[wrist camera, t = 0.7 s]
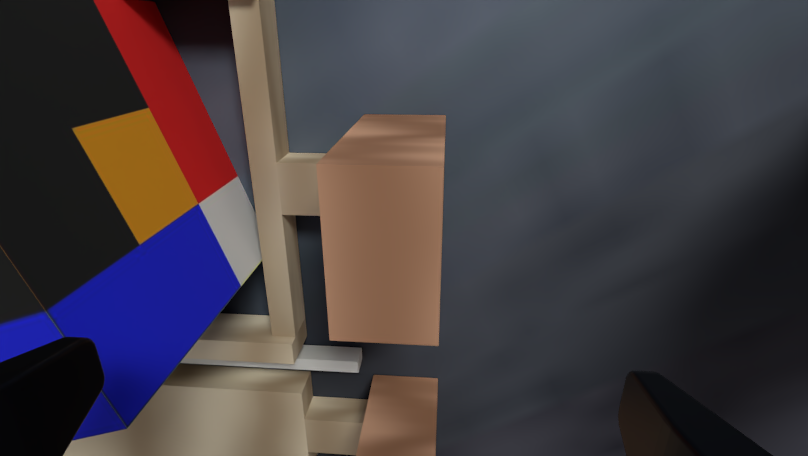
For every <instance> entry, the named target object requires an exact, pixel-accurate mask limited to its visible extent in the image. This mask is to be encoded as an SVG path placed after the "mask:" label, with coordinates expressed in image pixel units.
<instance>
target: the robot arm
mask: <svg viewBox="0 0 808 456" xmlns="http://www.w3.org/2000/svg"><path fill="white" fill-rule="evenodd" d="M104 381H105V375H104V371H103V368H102V365H101V361H100V358H99V355H98V351H97V348H96V345H95V343H94V342H93V341H92V340H91V339H89V338H85V337H64V338H61V339H58V340H56V341H53V342H51V343H48V344H45V345H43V346H40V347H38V348H35V349H33V350H30V351H28V352H25V353H23V354H20V355H18V356H15V357H13V358H10V359H8V360H5V361H3V362H0V456H63V455H64V453H65V451H66V450H67V448H68V446H69V445H70V443H71V441H72V440H73V438H74V436H75V435H76V433H77V431H78V430H79V428H80V426H81V425H82V423H83V421H84V420H85V418H86V416H87V414H88V413H89V411H90V409H91V408H92V406H93V404H94V403H95V401H96V399H97V398H98V396H99V394H100V393H101V391H102V389H103V386H104ZM618 420H619V427H620V431H621V435H622V439H623V443H624V447H625V451H626V456H773V455H771V454H770V453H768V452H767V451H766V450H764V449H763V448H762V447H760V446H759V445H757V444H756V443H755V442H753V441H752V440H751V439H749V438H748V437H746V436H745V435H744V434H742V433H741V432H739V431H738V430H737V429H735V428H734V427H733V426H731V425H730V424H728V423H727V422H726V421H724V420H723V419H721V418H720V417H719V416H717V415H716V414H715V413H713V412H712V411H710V410H709V409H708V408H706V407H705V406H704V405H702V404H701V403H699V402H698V401H697V400H695V399H694V398H692V397H691V396H690V395H688V394H687V393H686V392H684V391H683V390H681V389H680V388H679V387H677V386H676V385H674V384H673V383H672V382H670V381H669V380H668V379H666V378H665V377H663V376H662V375H660V374H659V373H656V372H648V371H631V372H630V373H628V375H627V377H626V380H625V385H624V389H623V394H622V398H621V403H620V407H619V413H618Z"/></svg>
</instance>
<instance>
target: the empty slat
mask: <svg viewBox="0 0 808 456" xmlns="http://www.w3.org/2000/svg"><path fill="white" fill-rule="evenodd" d="M437 391H438V378H423V377H405V376H387V375H373V380H372V384H371V389H370V393H369V398H368V399H351V398H335V397H318V396H313V391H312V380H311V371H297V370H280V369H262V368H244V367H226V366H208V365H190V364H179V365H178V366H177V367H176V369H175V370H174V371H173V372H172V374H171V375H170V376H169V377H168V379H167V380H166V381H165V382H164V384H163V385H162V386H161V387H160V389H159V390H158V391H157V392H156V394H155V395H154V396H153V397H152V399H151V400H150V401H149V402H148V404H147V405H146V406H145V407H144V409H143V410H142V411H141V412H140V414H139V415H138V416H137V417H136V419H135V420H134V421H133V422H132V423H131V425H130V426H129V427H128V428H127V429H124V430H119V431H115V432H110V433H105V434H101V435H96V436H92V437H87V438H82V439H78V440H73V441H71V443H70V445H69V446H68V448H67V450H66V451H65V453H64V455H63V456H317V453H329V454H343V455H356V456H436V424H437Z"/></svg>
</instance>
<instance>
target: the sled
mask: <svg viewBox="0 0 808 456" xmlns="http://www.w3.org/2000/svg"><path fill="white" fill-rule="evenodd" d="M228 4H229V12H230V20H231V27H232V35H233V42H234V50H235V58H236V65H237V73H238V80H239V88H240V95H241V103H242V111H243V118H244V126H245V133H246V141H247V149H248V156H249V164H250V171H251V179H252V187H253V194H254V202H255V209H256V217H257V224H258V232H259V240H260V247H261V255H262V262H263V270H264V278H265V285H266V293H267V300H268V308H269V316H267V315H246V314H225V313H220V314H219V315H218V316H217V317H216V319H215V320H214V321H213V322H212V324H211V325H210V326H209V327H208V329H207V330H206V331H205V332H204V334H203V335H202V336H201V337H200V339H199V340H198V341H197V342H196V344H195V345H194V346H193V347H192V349H191V350H190V351H189V352H188V354H187V355H186V356H185V357H184V358H189V359H207V360H225V361H243V362H261V363H280V364H294V363H295V361H296V359H297V357H298V355H299V353H300V350H301V348H302V346H303V344H304V342H305V339H306V337H307V329H306V319H305V309H304V299H303V289H302V278H301V268H300V258H299V248H298V237H297V227H296V217H295V215H304V216H320V221H321V234H322V247H323V260H324V273H325V286H326V299H327V312H328V325H329V338H330V340H331V341H350V342H370V343H390V344H410V345H430V346H439V317H440V287H441V256H442V225H443V192H444V159H445V126H446V115H379V114H364V115H363V116H362V117H361V118H360V119H359V121H358V122H357V123H356V124H355V125H354V126H353V127H352V128H351V129H350V130H349V131H348V132H347V133H346V134H345V135H344V136H343V137H342V138H341V139H340V140H339V141H338V142H337V143H336V144H335V145H334V146H333V147H332V148H331V149H330V150H329V151H328V152H327V153H289V145H288V135H287V125H286V115H285V105H284V94H283V84H282V74H281V64H280V54H279V43H278V33H277V23H276V13H275V2H274V0H228Z"/></svg>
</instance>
